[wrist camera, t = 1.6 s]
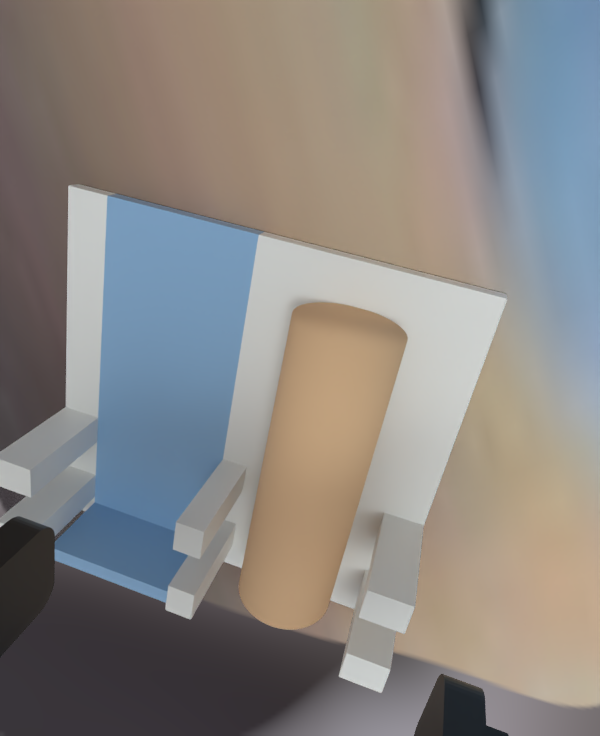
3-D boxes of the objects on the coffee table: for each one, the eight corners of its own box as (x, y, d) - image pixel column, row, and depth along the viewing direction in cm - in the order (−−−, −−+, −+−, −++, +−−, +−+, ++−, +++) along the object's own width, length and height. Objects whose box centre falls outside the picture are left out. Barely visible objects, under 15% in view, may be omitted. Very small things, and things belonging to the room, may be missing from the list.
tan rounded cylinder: (308, 294, 19) (277, 326, 15) (412, 322, 18) (401, 362, 15) (256, 544, 23) (224, 608, 20) (337, 573, 23) (317, 643, 20)
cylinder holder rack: (79, 184, 20) (-22, 197, 16) (506, 293, 17) (518, 343, 13) (72, 496, 26) (-2, 564, 22) (390, 610, 23) (373, 711, 19)
